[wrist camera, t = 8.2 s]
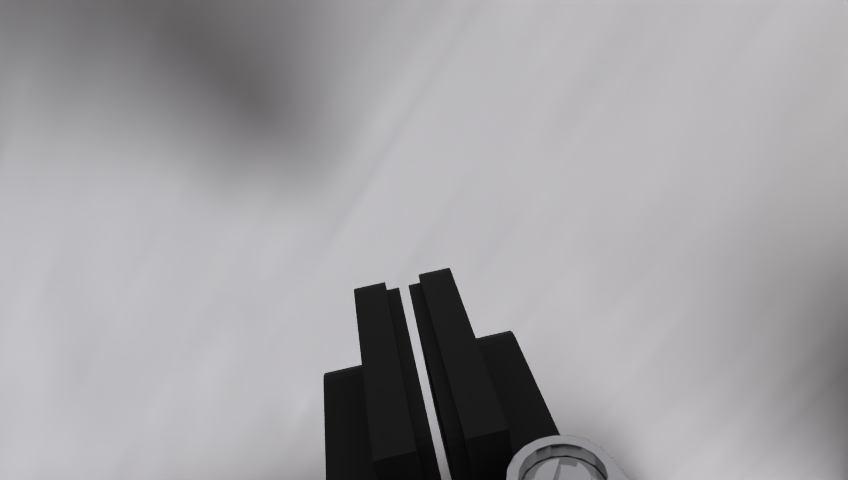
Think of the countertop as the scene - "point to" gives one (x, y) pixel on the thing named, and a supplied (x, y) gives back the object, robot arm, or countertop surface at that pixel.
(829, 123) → the countertop surface
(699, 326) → the countertop surface
